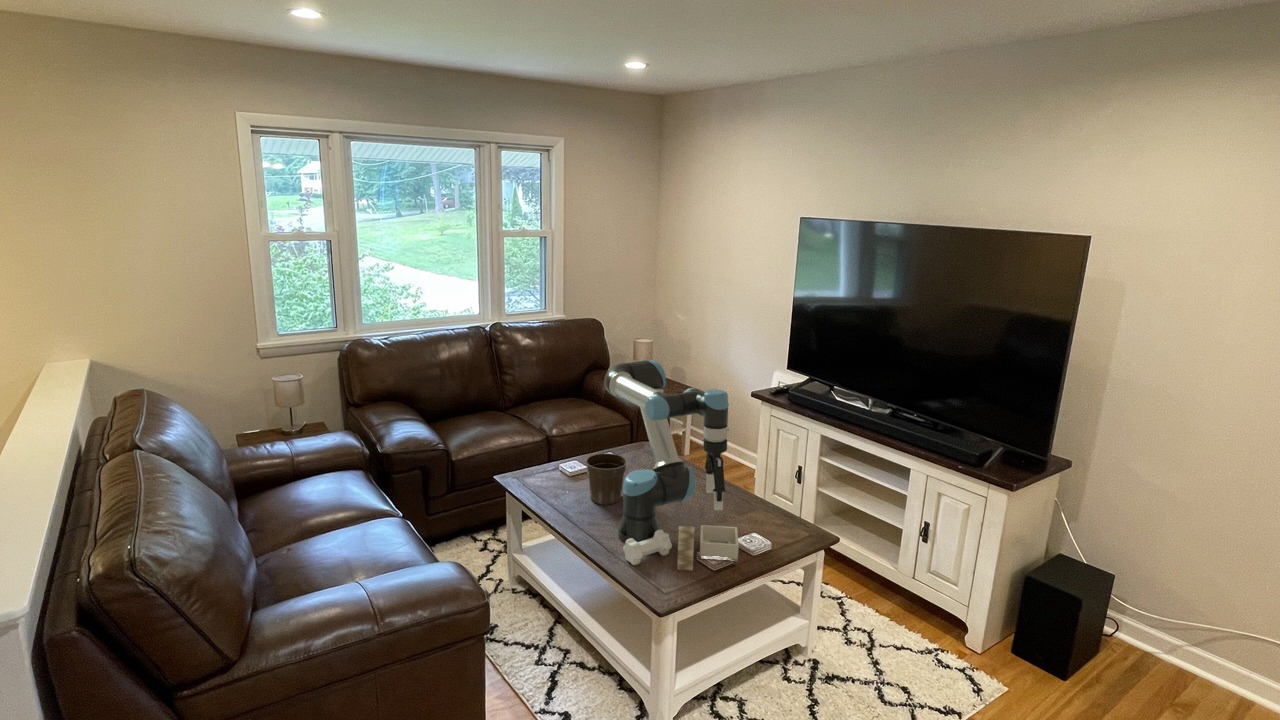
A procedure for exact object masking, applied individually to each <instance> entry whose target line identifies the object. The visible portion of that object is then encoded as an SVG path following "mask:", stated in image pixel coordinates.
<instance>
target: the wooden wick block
mask: <svg viewBox="0 0 1280 720" xmlns="http://www.w3.org/2000/svg"><path fill="white" fill-rule="evenodd" d="M677 535H678V536H677V537H678V540H677V541H678V542H677V568H676V569H677V570H679V571H693V570H694V549H695V546H694V545H695V526H686V525H682V526H681V525H679V526H678V534H677Z"/></svg>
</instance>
